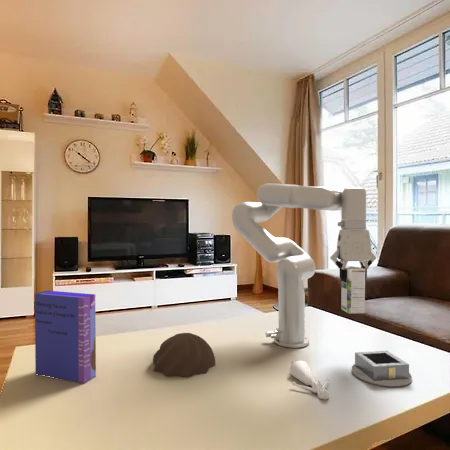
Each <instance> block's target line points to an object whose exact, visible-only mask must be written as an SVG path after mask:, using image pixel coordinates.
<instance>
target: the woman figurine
mask: <svg viewBox="0 0 450 450" xmlns="http://www.w3.org/2000/svg"><path fill="white" fill-rule="evenodd" d="M288 370H289V374H290V375H291V376H293V377H294V378H295V379H297V380H298V381H299V382H302V383H303V384H305V385H302V384H297V382H295V381H293V382H292V381H291V382H290V384H291V385H292V386H295V387H298V388H302V389H304V390H308V391H310V392H312V393H313V394H314V393H315V394H317V397H318V399H320V400H328V399H329V398H330V393H329V391H328V390H327V389H326V387H327V385H328V383H329V381H330V378H329V377H327V378H326V381H325V382H324V384H323V385H322V383H321V381H320V380H318V379H317V377H316V376H315V374H314V372H313V371H312V369H311V368H310V366H309V364H308V362H306V361H305V360H300V359H298V360H297V361H294V360H291V362H290V368H289V369H288ZM309 386H311V387H309Z"/></svg>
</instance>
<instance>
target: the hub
mask: <svg viewBox="0 0 450 450" xmlns="http://www.w3.org/2000/svg"><path fill="white" fill-rule="evenodd" d="M351 373H352V375H353V376H354V377H355V378H356V379H359V380H360V381H362V382H365V383H367V384H370V385H373V386H378V387H382V388H383V387H384V388H403V387H406V386H407V387H408V385H410V384H412V380H413V379H412V378H413V377H412V374H411V373H410V363H407V362H406V361H404V360H403V359H402V358H399V357H398V356H396V355H394V354H393V353H391V352H390V351H388V350H379V351H377V350H376V351H375V350H374V351H358V352H354V364H352V365H351Z"/></svg>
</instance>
